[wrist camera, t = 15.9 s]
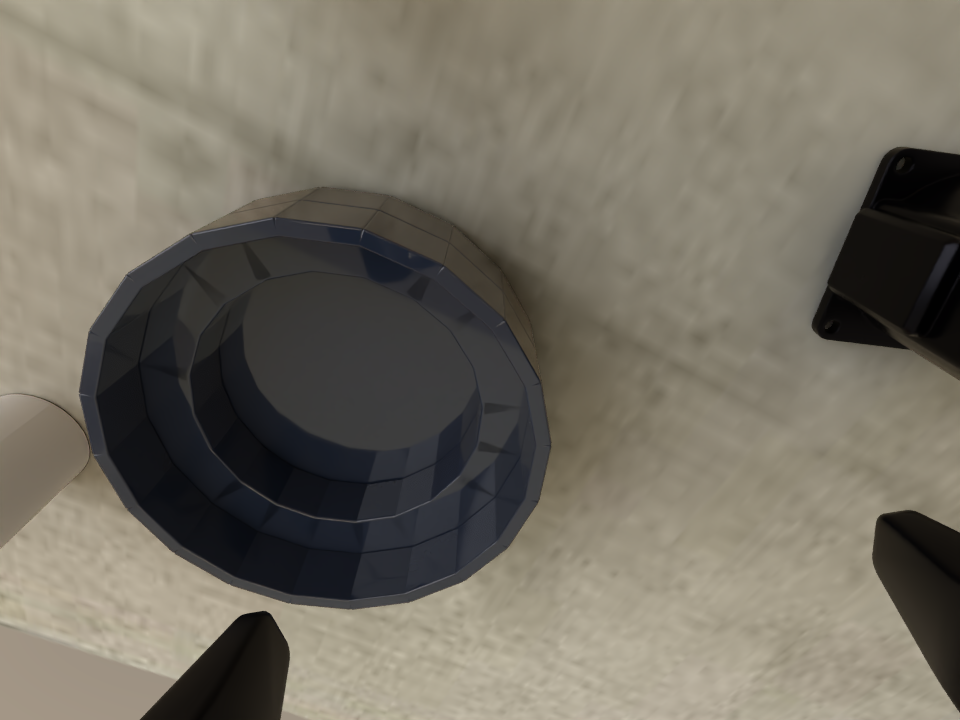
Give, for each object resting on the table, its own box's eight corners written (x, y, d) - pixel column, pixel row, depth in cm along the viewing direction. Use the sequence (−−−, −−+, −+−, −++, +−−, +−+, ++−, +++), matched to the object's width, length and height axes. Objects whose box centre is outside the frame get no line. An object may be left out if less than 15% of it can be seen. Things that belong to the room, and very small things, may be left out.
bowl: (568, 215, 19) (594, 257, 14) (507, 527, 25) (511, 625, 20) (142, 159, 18) (28, 185, 13) (190, 495, 24) (123, 589, 20)
